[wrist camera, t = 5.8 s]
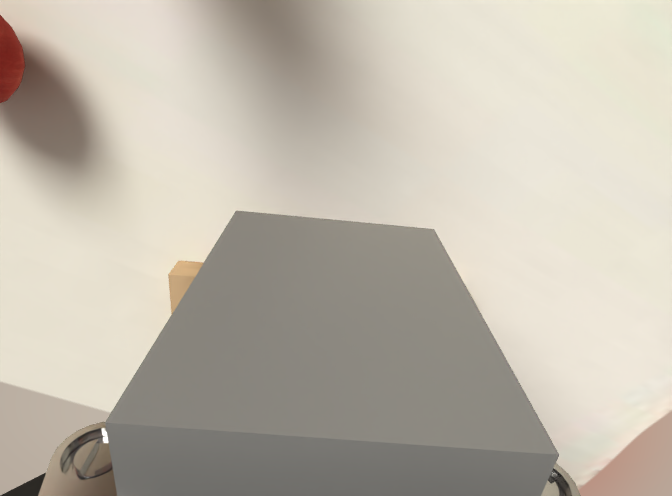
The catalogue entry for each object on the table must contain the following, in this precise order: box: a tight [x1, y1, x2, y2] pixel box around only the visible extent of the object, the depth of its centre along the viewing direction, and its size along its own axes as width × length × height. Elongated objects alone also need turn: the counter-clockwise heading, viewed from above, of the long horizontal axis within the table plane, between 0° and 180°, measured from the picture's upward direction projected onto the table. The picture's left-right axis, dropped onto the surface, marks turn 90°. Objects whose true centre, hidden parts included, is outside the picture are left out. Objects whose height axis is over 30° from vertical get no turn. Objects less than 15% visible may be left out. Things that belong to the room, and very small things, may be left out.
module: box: [105, 211, 559, 496], centre depth 9 cm, size 5×8×7 cm, turn 174°
